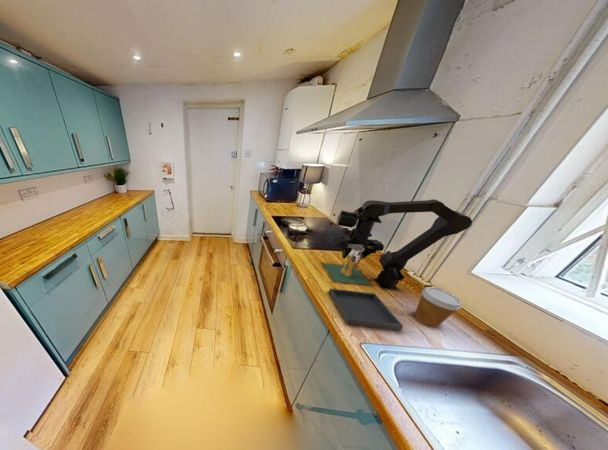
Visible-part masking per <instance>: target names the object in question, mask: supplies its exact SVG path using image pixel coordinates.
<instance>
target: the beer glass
mask: <svg viewBox="0 0 608 450" xmlns="http://www.w3.org/2000/svg"><path fill="white" fill-rule="evenodd" d="M348 247H349V248H350V250H349V252H348V254H347V256H346V257H345V259H343V258H342V264H341V265H342V266H341V268H340V269H339V273H340V274H341V275H343V276H345V277H353V275H354V270H355V268H358V266H359V264H360V263H361V261H362V260H363V259H362V257H363V254H364V251H365V249H364V248H363V246H361V245H349V246H348ZM361 259H362V260H361Z"/></svg>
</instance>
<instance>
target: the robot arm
mask: <svg viewBox="0 0 608 450" xmlns="http://www.w3.org/2000/svg"><path fill="white" fill-rule="evenodd" d="M406 213H407V214H408V213H409V214H410V213H411V214H412V213H433V214H435V215H436V216H437V218H436V219H435V220H434V221H433V223H432V224H431V227H430V228H429V229H427V230H425V231H424V232H423V233H421V234H420V235H418V236H417V237H416V238H414V239H412V240H411V241H410V242H408V243H406V244H405V245H404V246H402V247H401V248H400V249H398V250H396V251H393V252H392V251H391V250H387V251H386V252H385V253H383V254H381V255H380V257H379V259H378V260H379V264H380V266H381V268H382V270H381V271H379V272H380V273H378V275H377V277H374V278H373V280H374V281H375V282H376V283H377V284H378V285H379V286H380V287H381V289H384V290H392V291H393V290H395V291H399V288H398V287H397V286H398V284H399V282H400V281H403V280H404V279H405V275H404V274H403V273H402V270H403V269H404V268H405V267H406V265H407V263H408V261H409V260H411V259H413V258H414V257H415V256H417V255H418V254H420V253H421V252H423V251H425V250H427V249H428V248H429V247H432V245H434V244H436V243H437V242H439V241H441V240H442V239H443V238H445V237H448V236H453V235H457V234H459V233H462V232H464V231H466V230H467V229H469V228H471V227H472V225H473V220H472V218H471V217H469V216H468V215H466V214H464V213H462V212H460V211H457V210H453V209H451V208H450V207H448V206H447V205H445V203H443V202H442V201H440V200H438V199H426V200H425V199H424V200H410V201H383V200H373V199H372V200H366V201H365V202H364V203H362V205H361V206H360V207H358V208H357V209H355V210H354V211H353V212H351V211H346V210H341V211H340V212H339V214H338V216H337V219H336V225H337V226H340V227H342V229H341V234H342V235H344V236H345V237H347V238H348V239H346V238H345V237H344V236H334V237H333V239H332V242H333V243H334V244H335V246H337V247H338V248H341V249H340V250H341V256H342V260H343V259H345V257H346V256H347V254H348V252H349V250H350V248H349V247H348V246H349V245H360V246H362V247H363V248H364V249H365V251H364V254H363V257H362V259H361V261H362V260H364V259H365V258H367V257H368V256H370V255H371V254H373V253H376V252H377V251H379V252H383V251H384V249H385V245H384V244H383V243H382V242H380V241H379V240H378V239H371V237H372V236H373V234H372V230H373V228H374V226H375V223H378V224H382V223H383V222H382V220H381V218H380V217H384V216H386V215H387V216H388V215H390V214H406ZM354 227H355V228H354ZM349 228H352V229H349Z"/></svg>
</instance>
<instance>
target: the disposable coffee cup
mask: <svg viewBox="0 0 608 450" xmlns="http://www.w3.org/2000/svg"><path fill="white" fill-rule="evenodd" d="M462 308H463V307H462V301H461V300H460V299H459V298H458V297H457V296H456V295H455V294H453V293H451V292H449V291H447V290H444V289H442V288H438V287H434V286H427V287H425V288H423V289H422V290H421V295H420V299H419V302H418V304H417V306H416V308H415V311H414V315H413V316H414V317H415V319H416V320H417V321H418V322H420V323H421V324H423V325H425V326H427V327H430V328H438V327H439V326H440V325H441V324H443V323H444V322H445V321H446V320H447V319H448V318H450V316H452V315H453V314H454V313H455V312H456V311H458V310H461V309H462Z"/></svg>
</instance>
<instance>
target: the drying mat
mask: <svg viewBox="0 0 608 450" xmlns="http://www.w3.org/2000/svg"><path fill="white" fill-rule="evenodd" d="M322 265H323V267H324V268H325V270H326V271H327V273H328V274H329V276H330V278H331V279H332V281H333V282H334V283H344V284H353V285H361V286H370V287H372V286H373V284H371V282H370V281H369V280H368V279H367V278H366V276H364V275H363V274H362V272H361V271H360V270H359V269H358V267H356V268H355V270H354V275H353V277H345V276H343V275H341V274H340V273H339V269H340V268H341V266H342V264H332V263H322Z"/></svg>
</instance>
